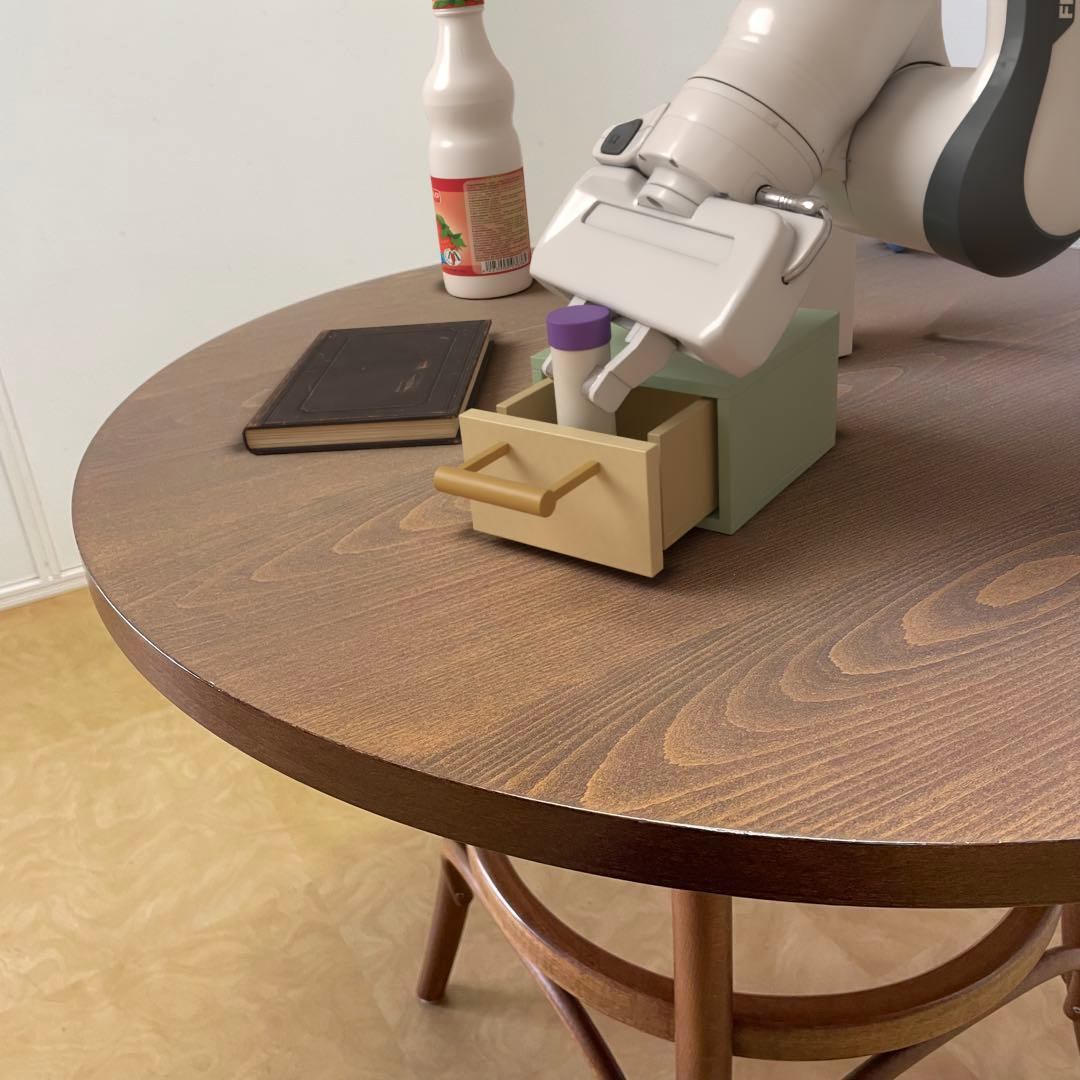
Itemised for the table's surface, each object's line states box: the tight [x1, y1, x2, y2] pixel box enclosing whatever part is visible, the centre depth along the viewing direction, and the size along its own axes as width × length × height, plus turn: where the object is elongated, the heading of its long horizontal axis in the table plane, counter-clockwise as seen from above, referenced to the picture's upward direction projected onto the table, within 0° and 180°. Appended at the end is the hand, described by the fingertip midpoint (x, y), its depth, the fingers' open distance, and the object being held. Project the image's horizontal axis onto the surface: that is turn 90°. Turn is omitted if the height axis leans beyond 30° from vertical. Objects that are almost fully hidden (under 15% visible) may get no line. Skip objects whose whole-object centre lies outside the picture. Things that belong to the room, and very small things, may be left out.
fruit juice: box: [421, 0, 534, 300], centre depth 112 cm, size 9×9×28 cm
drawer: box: [432, 377, 719, 578], centre depth 64 cm, size 19×12×7 cm, turn 143°
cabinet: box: [529, 308, 840, 536], centre depth 72 cm, size 15×14×9 cm
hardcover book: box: [241, 318, 495, 455], centre depth 92 cm, size 16×23×2 cm
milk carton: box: [798, 225, 858, 358], centre depth 88 cm, size 7×7×19 cm
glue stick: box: [545, 305, 616, 436], centre depth 62 cm, size 3×3×10 cm
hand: (574, 392), depth 62 cm, fingers closed on glue stick, 3 cm apart
